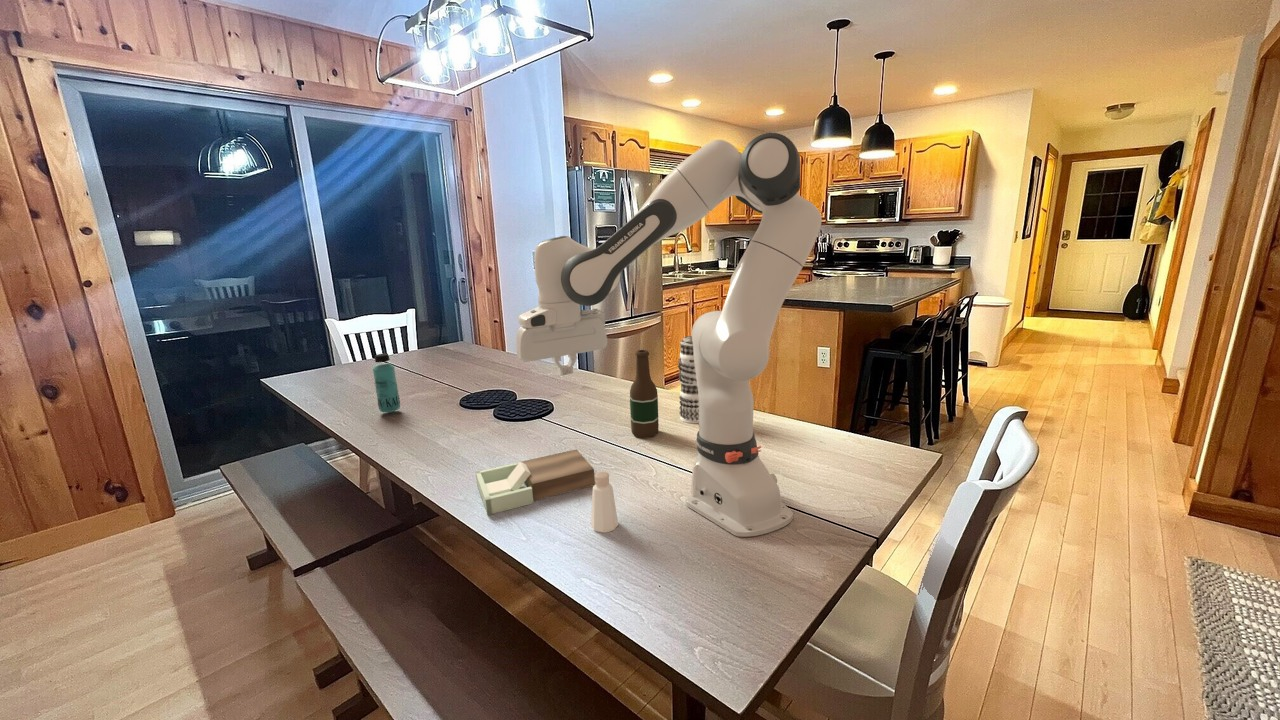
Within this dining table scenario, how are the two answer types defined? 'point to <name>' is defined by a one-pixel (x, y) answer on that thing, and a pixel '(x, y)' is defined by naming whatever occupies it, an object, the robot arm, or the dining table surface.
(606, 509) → the salt shaker
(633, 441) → the dining table surface
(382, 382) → the beverage bottle
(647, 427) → the beer bottle
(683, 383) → the decorative candle
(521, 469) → the tile
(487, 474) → the tray
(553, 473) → the wooden tile base
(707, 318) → the robot arm
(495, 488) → the tile
